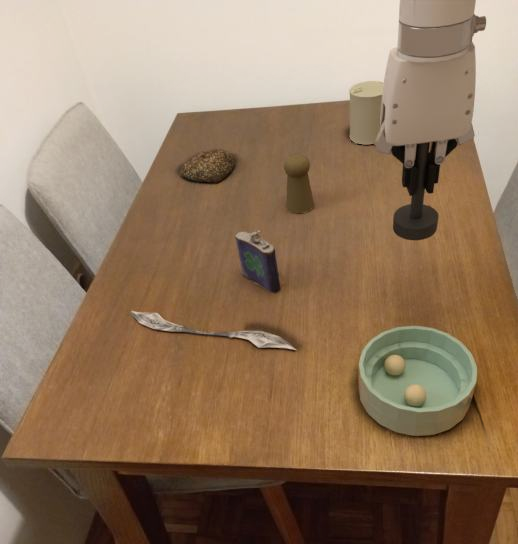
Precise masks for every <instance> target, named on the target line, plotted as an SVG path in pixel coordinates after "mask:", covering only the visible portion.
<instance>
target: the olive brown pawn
mask: <svg viewBox="0 0 518 544" xmlns="http://www.w3.org/2000/svg"><path fill="white" fill-rule="evenodd" d="M310 167H311V163H310V160H309V158H308V157H307V156H306V155H304V154H300V153H296V154H292V155H289V156H288V157H286V158H285V160H284V164H283V169H284V172H285V174H286V177H287V178H286V181H287V182H286V196H285V199H286V200H285V208H287V209H286V211H287V212H289V211H290V212H289V213H291V212H293V213H292V214H294V213H302V214H304V213H303V212H306V211H309V210H310V209H311V208H312V207H313V206H314V207H315V202H314V201H315V200H314V195H313V191H312V187H311V181H310V177H309V171H310ZM314 207H313V208H314ZM310 211H311V210H310ZM310 211H309V212H310ZM306 213H307V212H306Z"/></svg>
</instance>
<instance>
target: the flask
mask: <svg viewBox="0 0 518 544" xmlns="http://www.w3.org/2000/svg"><path fill="white" fill-rule="evenodd" d="M259 233H260V234H261V230H260V229H255V230H254V231H252V232H246V231H239V232H237V233H236V234H235V241H236V247H237V251H238V258H239V262H240V269H241V275H242V276H243V277H244V278H245V279H246V280H249V281H251V282H252V283H253V284H255V285H258V286H260V287H261V288H263V289H264V290H266V291H267V292H269V293H270V294H277V293H279V292H280V291H281V290H282V287H281V282H280V275H279V269H278V262H277V261H278V260H277V256H276V248H275V247H274V246H273V245H272V244H271V243H269V242H268V241H267V240H265V239H264V238H263V237H262V236H260V235H259Z"/></svg>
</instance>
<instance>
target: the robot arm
mask: <svg viewBox="0 0 518 544" xmlns="http://www.w3.org/2000/svg"><path fill="white" fill-rule="evenodd" d="M476 2H477V0H399V8H398V9H399V11H398V29H397V45H396V47H394V48H392V49H390V50H389V53H388V57H387V61H386V67H385V71H384V79H383V82H384V85H383V93H382V103H381V115H380V125H381V128H380V131H379V133H378V135H377V138H376V140H375V143H374V145H373V146H374V149H375V151H376V152H377V153H382V154H386V155H392V156H393V157H394V158H395V159H397V160H398V161H399V162H400V163H401V164H402V171H401V185H402V188H406V189H407V193H408V195H409V197H412V196H414V194H416V185H417V175H418V167H417V165H416V161H415V154H416V144H420V143H428V142H430V147H429V156H428V165H427V174H426V183H425V192H426V193H427V194H430V195H431V194H434V190H435V185H436V184H438V183H439V179H440V170H441V165H442V164H443V163H445V160H446V157H447V156H449V154H451V153H452V152H453V150H455V149H456V148H457V147H458V146H461V145H464V144H465V143H467V142H470V141H473V140H474V139H475V135H476V134H475V130H474V126H473V117H474V111H475V110H474V109H475V101H476V100H475V98H476V78H477V77H476V75H477V67H476V66H477V60H476V58H477V57H476V46H475V44H474V42H473V37H474V35H475V34H477V33H478V32H483V31H485V30H486V27H487V17H486V16H485V15H483V16H479V15H476V14H475V9H476Z"/></svg>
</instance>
